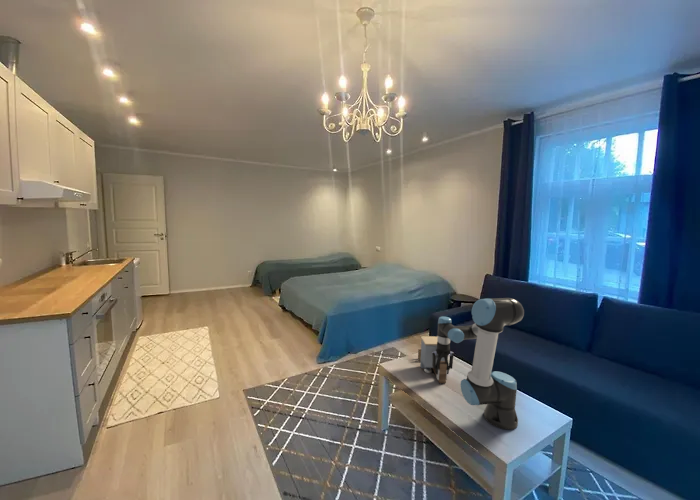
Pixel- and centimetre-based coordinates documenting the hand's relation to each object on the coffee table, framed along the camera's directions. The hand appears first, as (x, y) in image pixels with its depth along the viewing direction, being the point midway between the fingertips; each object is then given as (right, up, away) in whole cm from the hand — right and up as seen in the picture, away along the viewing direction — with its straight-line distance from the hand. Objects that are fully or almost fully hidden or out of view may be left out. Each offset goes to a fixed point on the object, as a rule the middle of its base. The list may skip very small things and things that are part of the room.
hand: (441, 378), depth 181 cm
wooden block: (0, -1, +7) cm, 7 cm away
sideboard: (-2, -1, +14) cm, 14 cm away
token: (-5, -1, +13) cm, 14 cm away
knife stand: (+2, +1, +28) cm, 28 cm away
